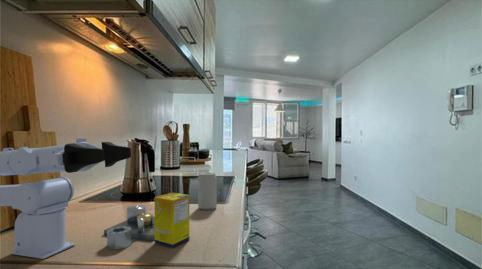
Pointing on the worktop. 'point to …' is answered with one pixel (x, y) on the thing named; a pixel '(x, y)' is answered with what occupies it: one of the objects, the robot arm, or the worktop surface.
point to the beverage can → (207, 191)
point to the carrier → (139, 223)
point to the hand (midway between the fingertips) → (117, 153)
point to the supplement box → (171, 219)
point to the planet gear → (118, 237)
